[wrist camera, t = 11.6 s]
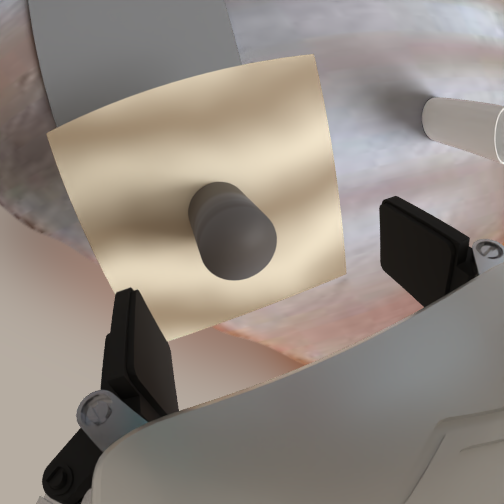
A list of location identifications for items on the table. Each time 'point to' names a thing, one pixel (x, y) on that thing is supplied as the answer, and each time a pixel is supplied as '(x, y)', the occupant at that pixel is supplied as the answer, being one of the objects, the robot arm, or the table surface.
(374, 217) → the table surface
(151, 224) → the lid
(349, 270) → the table surface
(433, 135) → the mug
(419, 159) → the table surface
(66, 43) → the mat
